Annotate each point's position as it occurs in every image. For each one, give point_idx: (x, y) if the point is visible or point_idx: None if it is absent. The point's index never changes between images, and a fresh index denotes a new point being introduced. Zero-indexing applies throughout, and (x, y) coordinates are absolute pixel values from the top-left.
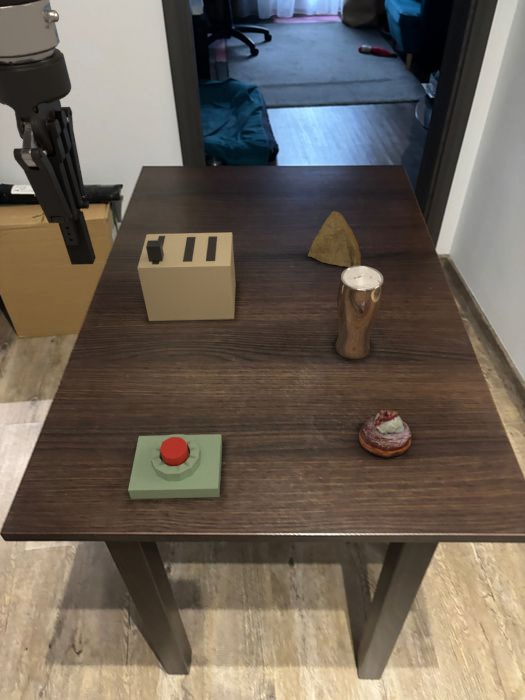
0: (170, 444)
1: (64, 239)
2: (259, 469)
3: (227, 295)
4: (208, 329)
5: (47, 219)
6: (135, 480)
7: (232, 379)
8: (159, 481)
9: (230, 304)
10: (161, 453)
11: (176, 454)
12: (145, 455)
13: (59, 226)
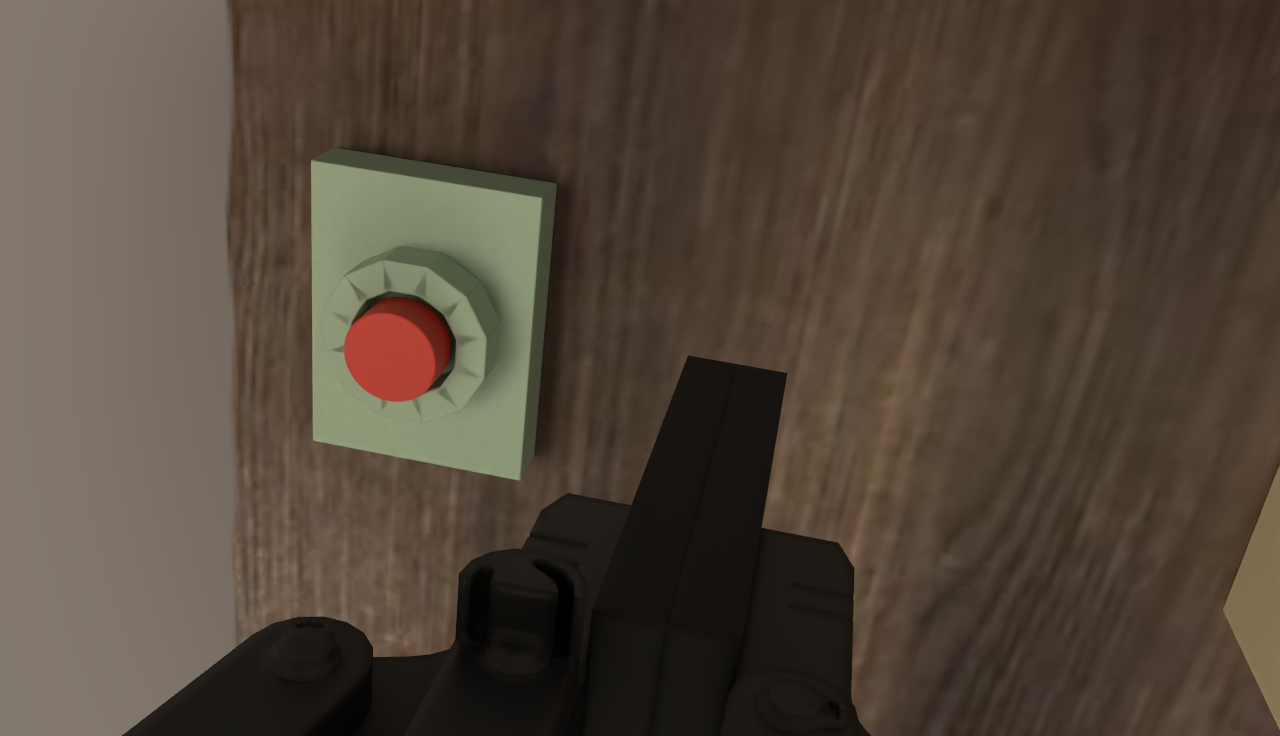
0: (402, 348)
1: (646, 476)
2: (425, 542)
3: (1274, 680)
4: (1187, 496)
5: (230, 657)
6: (347, 186)
7: (834, 537)
8: (340, 267)
9: (1252, 654)
10: (366, 315)
11: (359, 365)
12: (450, 221)
13: (619, 546)
